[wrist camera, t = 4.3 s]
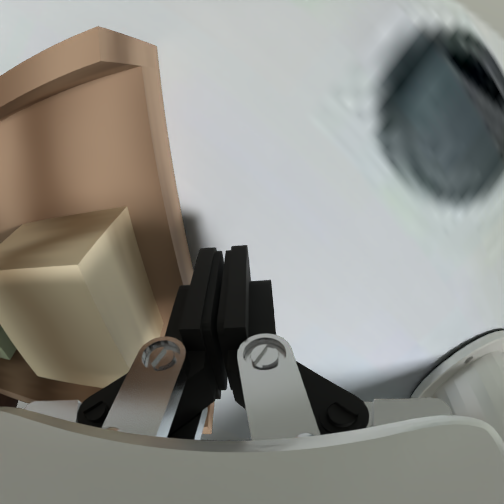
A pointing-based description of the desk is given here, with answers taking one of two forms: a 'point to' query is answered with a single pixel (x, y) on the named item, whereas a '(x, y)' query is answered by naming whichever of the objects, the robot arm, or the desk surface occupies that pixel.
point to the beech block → (77, 296)
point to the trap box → (90, 168)
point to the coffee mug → (7, 401)
